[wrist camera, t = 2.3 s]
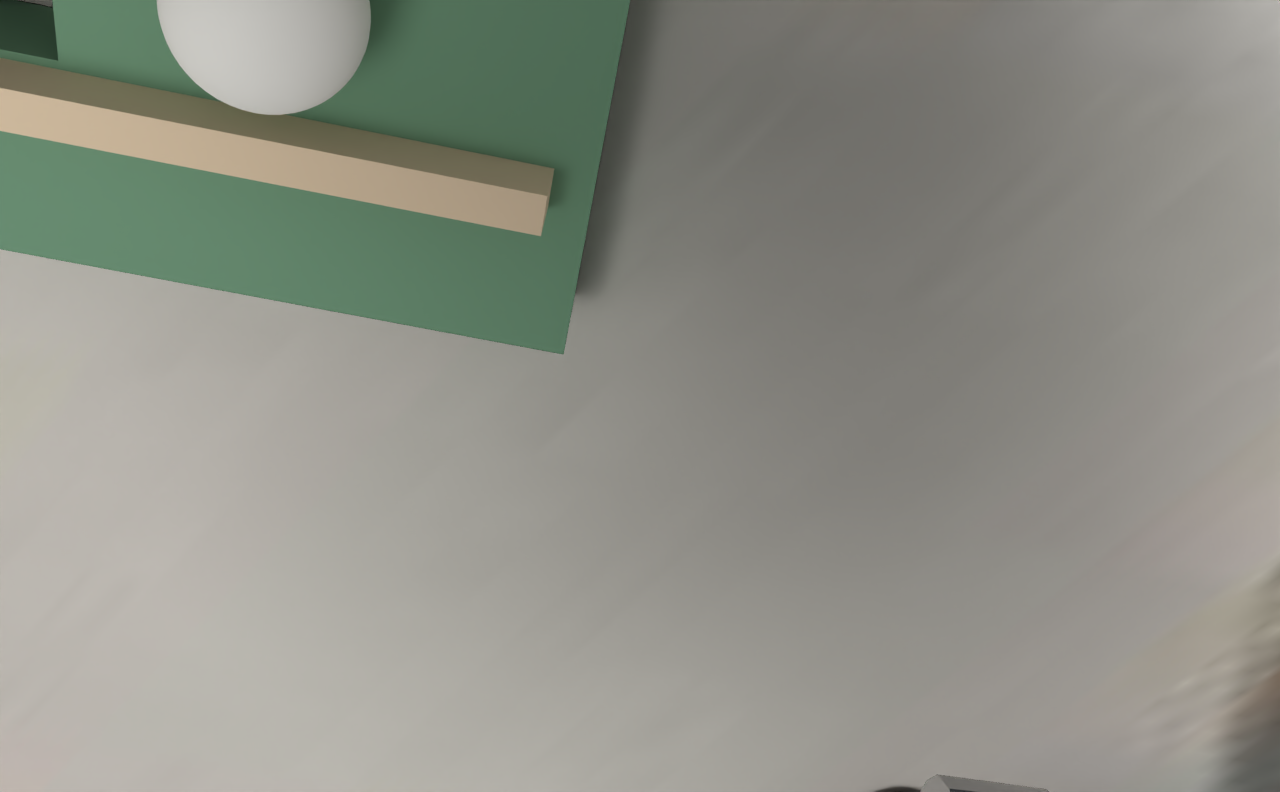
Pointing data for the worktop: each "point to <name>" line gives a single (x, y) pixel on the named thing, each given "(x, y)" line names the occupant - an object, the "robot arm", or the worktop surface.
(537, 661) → the worktop surface
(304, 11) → the ball
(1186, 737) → the worktop surface
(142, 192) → the putting mat
